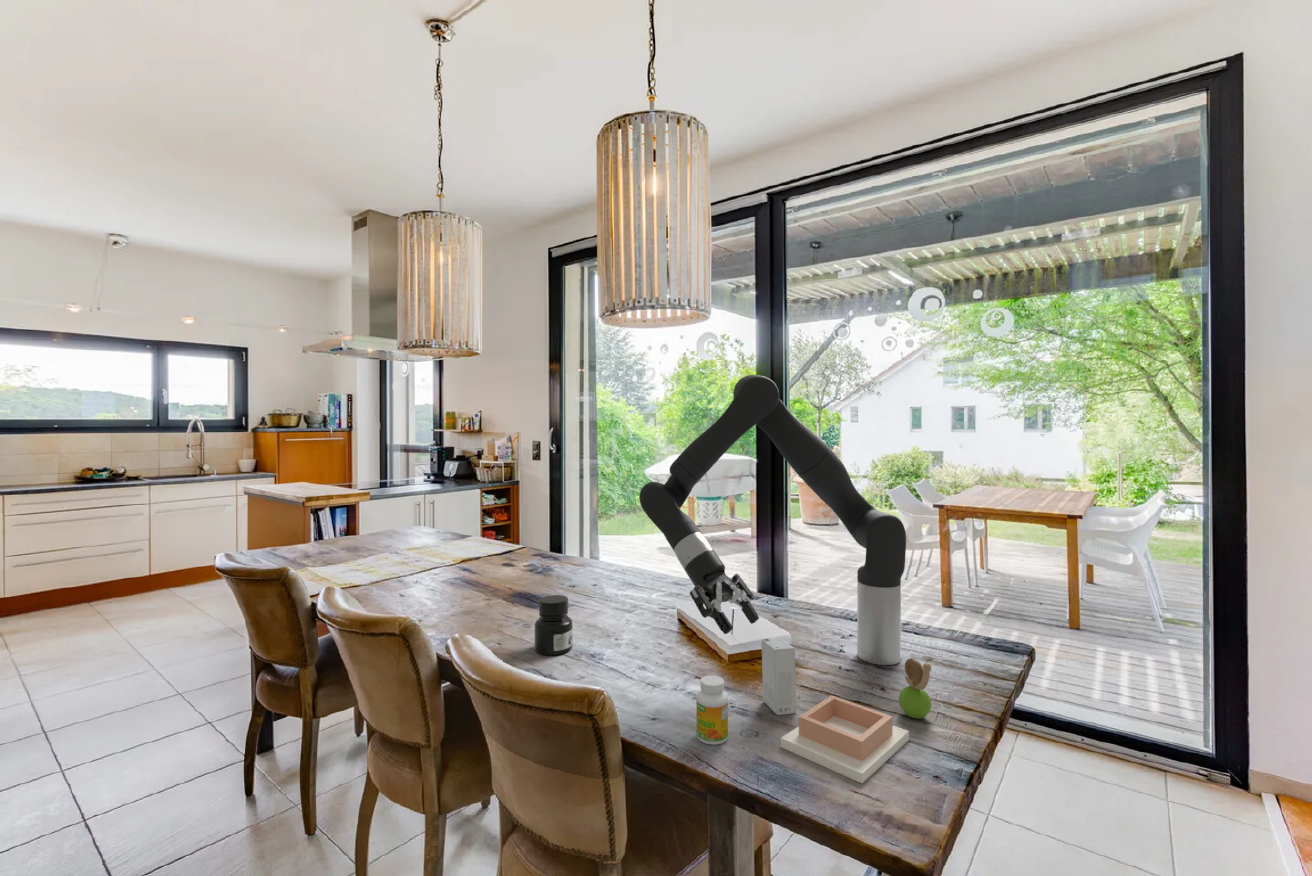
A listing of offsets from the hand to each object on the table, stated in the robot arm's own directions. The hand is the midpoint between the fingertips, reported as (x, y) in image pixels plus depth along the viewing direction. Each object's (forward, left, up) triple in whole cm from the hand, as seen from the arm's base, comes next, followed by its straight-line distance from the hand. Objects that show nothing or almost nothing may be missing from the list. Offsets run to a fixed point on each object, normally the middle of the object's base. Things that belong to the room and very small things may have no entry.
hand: (742, 626), depth 115 cm
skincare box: (0, +8, -13) cm, 16 cm away
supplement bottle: (+17, +6, -13) cm, 23 cm away
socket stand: (+3, +23, -13) cm, 27 cm away
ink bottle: (+13, -46, -13) cm, 49 cm away
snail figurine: (-14, +28, -13) cm, 34 cm away
